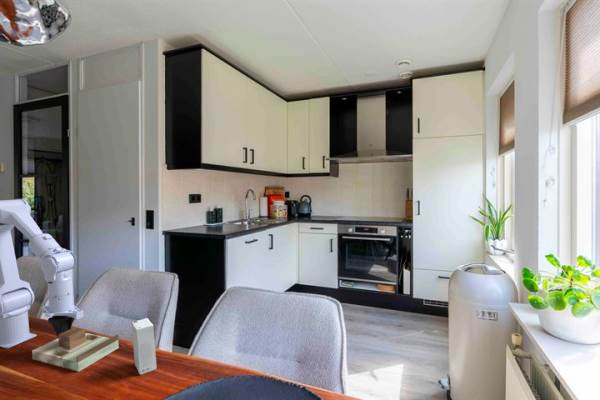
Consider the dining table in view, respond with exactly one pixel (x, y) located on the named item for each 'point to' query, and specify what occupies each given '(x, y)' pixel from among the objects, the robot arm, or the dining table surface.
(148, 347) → the skincare box
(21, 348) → the dining table surface
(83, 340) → the walnut block
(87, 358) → the box
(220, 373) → the dining table surface
